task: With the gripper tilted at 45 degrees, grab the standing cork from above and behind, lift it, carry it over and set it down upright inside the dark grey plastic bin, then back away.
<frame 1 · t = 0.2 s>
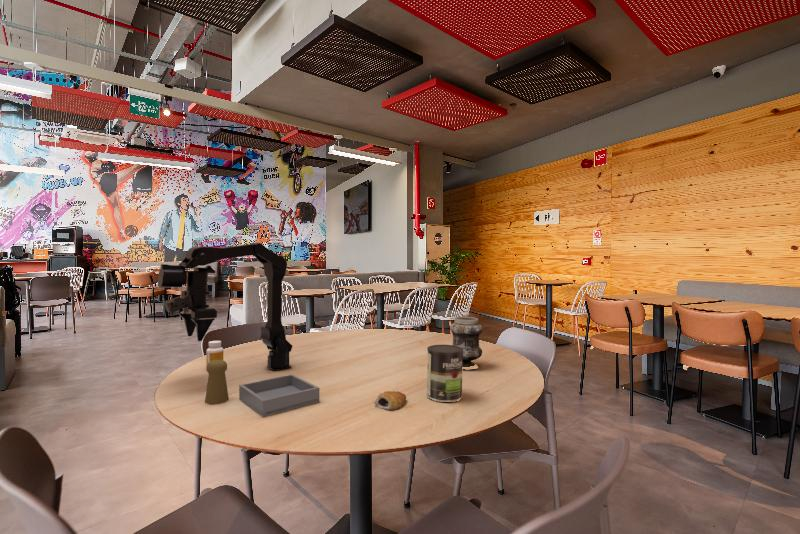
hand: (194, 338, 124), 14 cm above the table, tool pointing down, fingers open, 9 cm apart
apothecary jar: (465, 367, 148), on the table
pastry: (390, 406, 110), on the table
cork: (216, 401, 112), on the table
supplement bottle: (215, 370, 141), on the table
coffee can: (444, 397, 117), on the table
grey bin: (279, 400, 112), on the table
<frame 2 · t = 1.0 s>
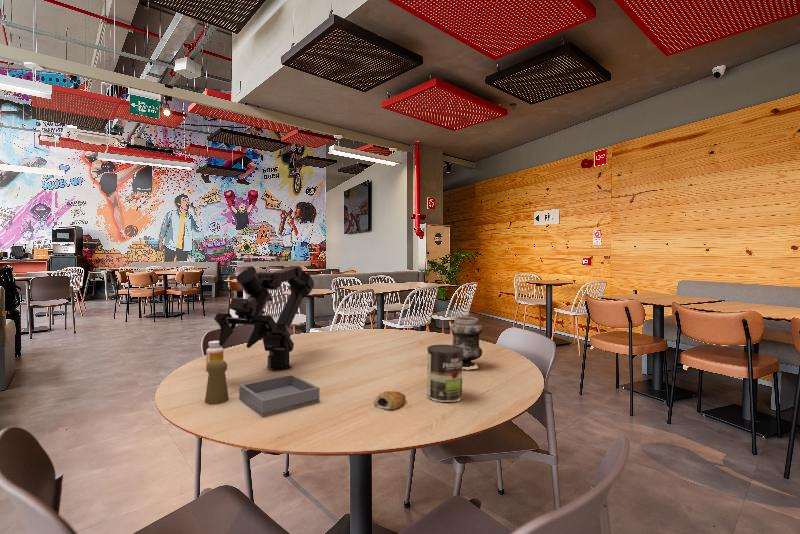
hand: (233, 346, 119), 13 cm above the table, tool tilted 45°, fingers open, 9 cm apart
nothing on the table moved.
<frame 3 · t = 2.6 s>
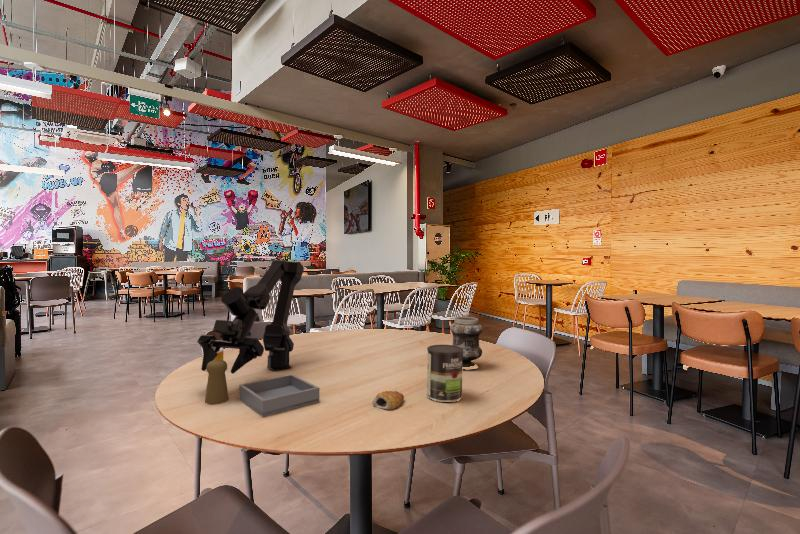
hand: (217, 371, 112), 8 cm above the table, tool tilted 45°, fingers open, 9 cm apart
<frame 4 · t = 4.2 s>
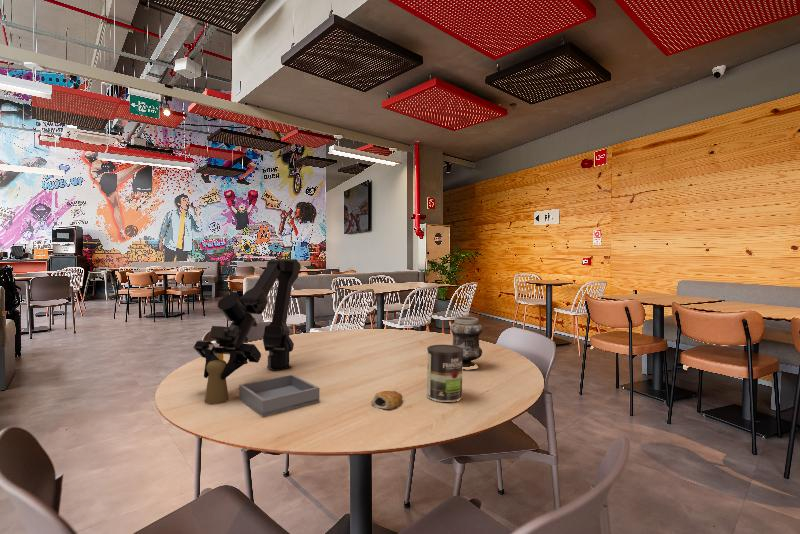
hand: (213, 378, 110), 7 cm above the table, tool tilted 45°, fingers closed on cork, 5 cm apart
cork: (216, 401, 112), on the table, touching gripper
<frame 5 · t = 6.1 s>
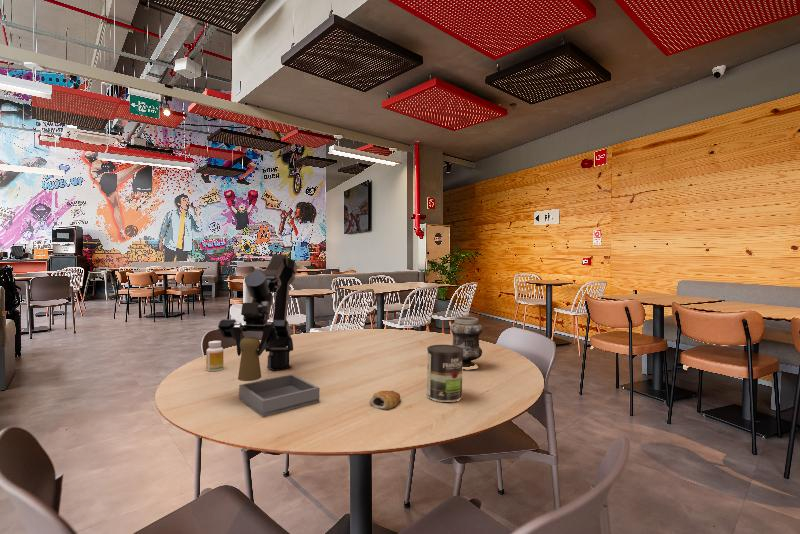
hand: (248, 355, 109), 13 cm above the table, tool tilted 45°, fingers closed on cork, 5 cm apart
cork: (249, 378, 111), point 6 cm above the table, touching gripper
when the fingers open (9 cm above the table, at t = 8.3 s): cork drops 2 cm, resting on grey bin.
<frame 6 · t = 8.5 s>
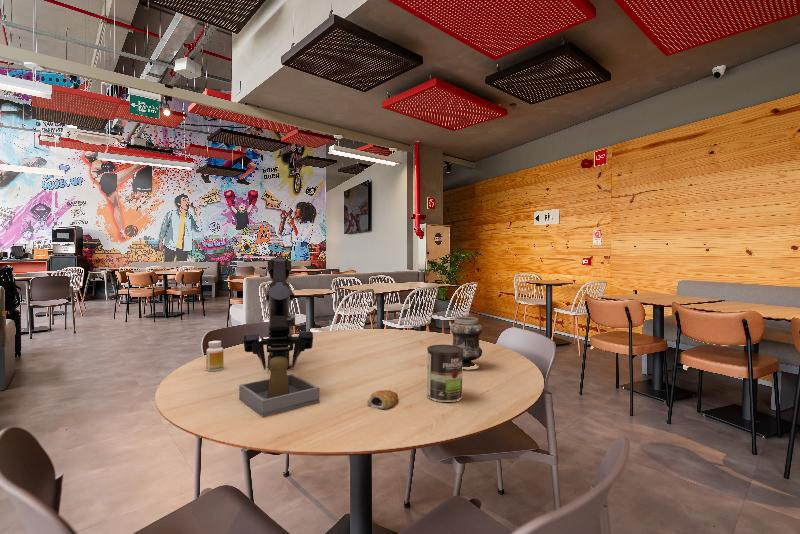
hand: (279, 367, 111), 10 cm above the table, tool tilted 45°, fingers open, 7 cm apart
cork: (278, 397, 112), point 1 cm above the table, touching grey bin
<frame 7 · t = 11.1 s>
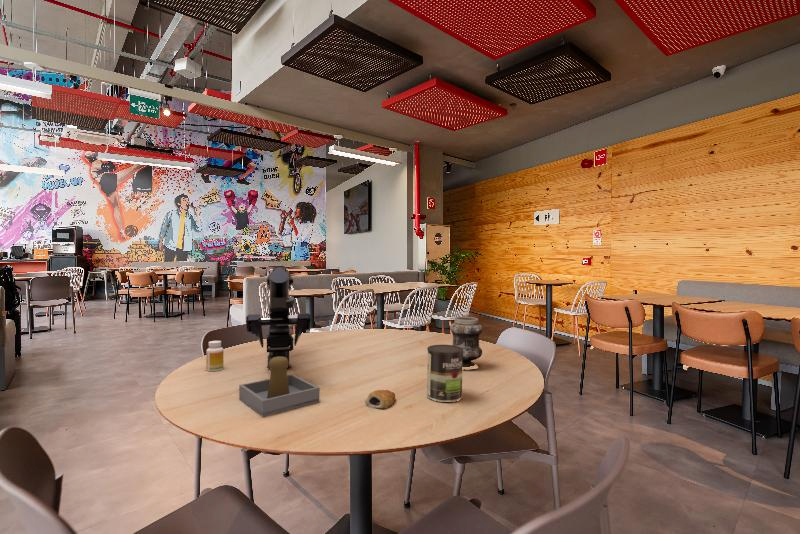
hand: (278, 345, 119), 14 cm above the table, tool tilted 45°, fingers open, 9 cm apart
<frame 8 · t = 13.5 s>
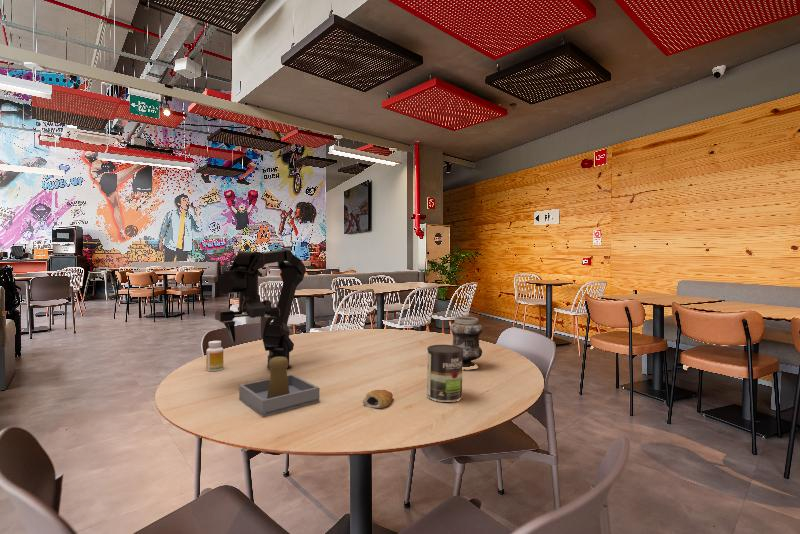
hand: (248, 340, 128), 13 cm above the table, tool pointing down, fingers open, 9 cm apart
at the end: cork inside the target area on the grey bin (0.3 cm from its centre), point 0.8 cm above the grey bin's base; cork tilted 0°; the gripper is holding nothing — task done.
